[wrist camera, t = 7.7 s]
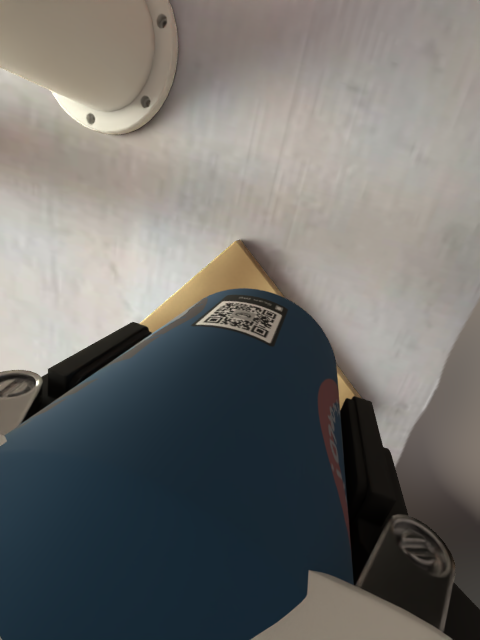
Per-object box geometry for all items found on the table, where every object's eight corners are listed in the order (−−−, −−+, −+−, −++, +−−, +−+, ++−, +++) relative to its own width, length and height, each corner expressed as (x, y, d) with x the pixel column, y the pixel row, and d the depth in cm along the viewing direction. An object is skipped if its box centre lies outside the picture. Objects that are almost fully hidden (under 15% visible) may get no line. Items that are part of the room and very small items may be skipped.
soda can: (312, 444, 15) (277, 1141, 4) (174, 401, 16) (-168, 826, 5) (357, 303, 12) (658, 1105, 1) (191, 265, 13) (-419, 492, 2)
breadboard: (121, 340, 36) (113, 345, 35) (240, 239, 29) (236, 240, 28) (230, 469, 38) (227, 479, 37) (365, 402, 31) (367, 411, 30)
